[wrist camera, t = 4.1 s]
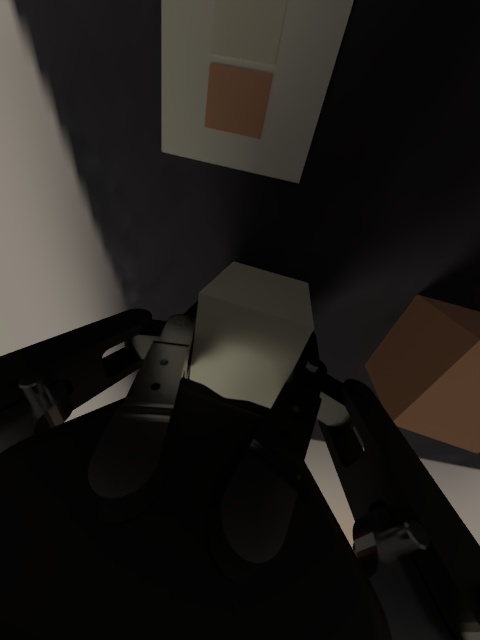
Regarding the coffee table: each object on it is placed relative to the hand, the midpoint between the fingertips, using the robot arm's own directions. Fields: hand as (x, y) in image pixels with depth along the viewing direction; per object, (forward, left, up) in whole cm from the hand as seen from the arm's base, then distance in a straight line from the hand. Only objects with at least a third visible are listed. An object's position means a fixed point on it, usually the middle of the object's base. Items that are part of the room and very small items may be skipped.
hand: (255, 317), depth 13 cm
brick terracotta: (-1, +11, -2) cm, 11 cm away
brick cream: (0, 0, 0) cm, 0 cm away
